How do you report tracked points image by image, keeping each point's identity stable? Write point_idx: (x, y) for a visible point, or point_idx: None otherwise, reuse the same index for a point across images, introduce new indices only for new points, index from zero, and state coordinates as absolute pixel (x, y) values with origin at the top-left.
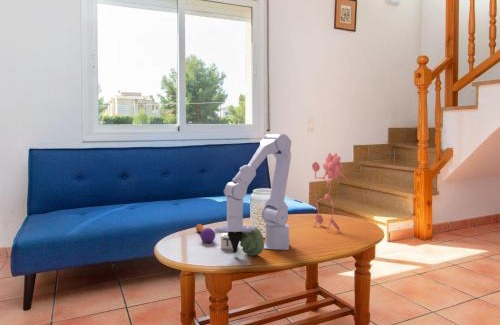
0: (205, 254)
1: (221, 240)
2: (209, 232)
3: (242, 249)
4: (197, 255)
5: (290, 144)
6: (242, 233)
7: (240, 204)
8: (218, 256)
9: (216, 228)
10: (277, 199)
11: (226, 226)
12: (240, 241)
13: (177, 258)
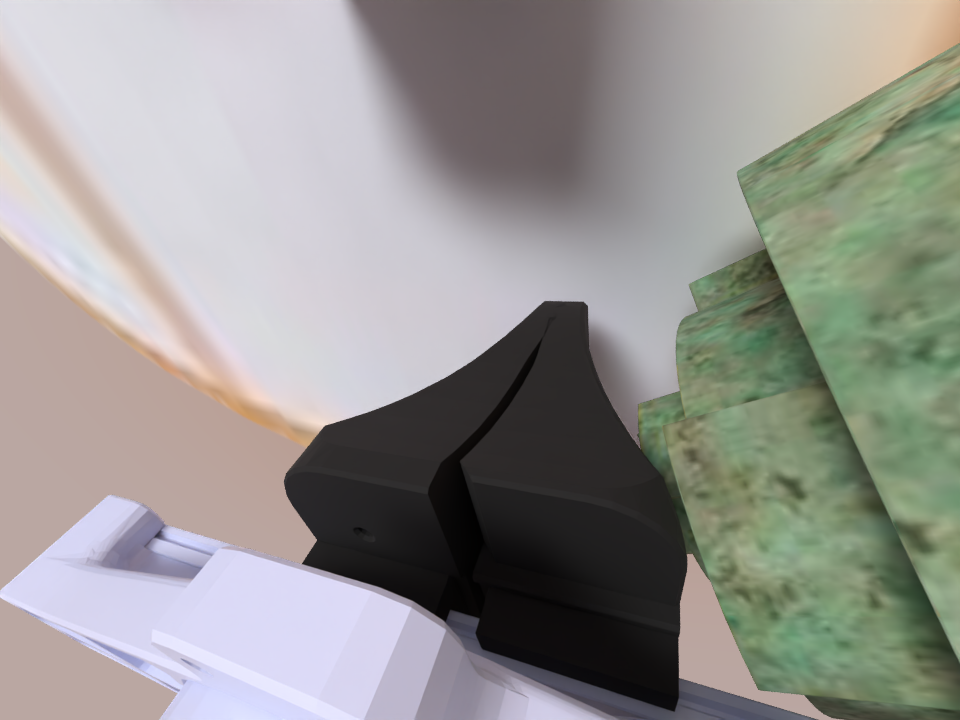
0: (259, 236)
1: None
2: None
3: (695, 296)
4: (213, 260)
5: None
6: (717, 557)
7: None
8: (398, 301)
9: (106, 656)
10: None
11: (143, 640)
12: (648, 419)
13: (137, 312)
